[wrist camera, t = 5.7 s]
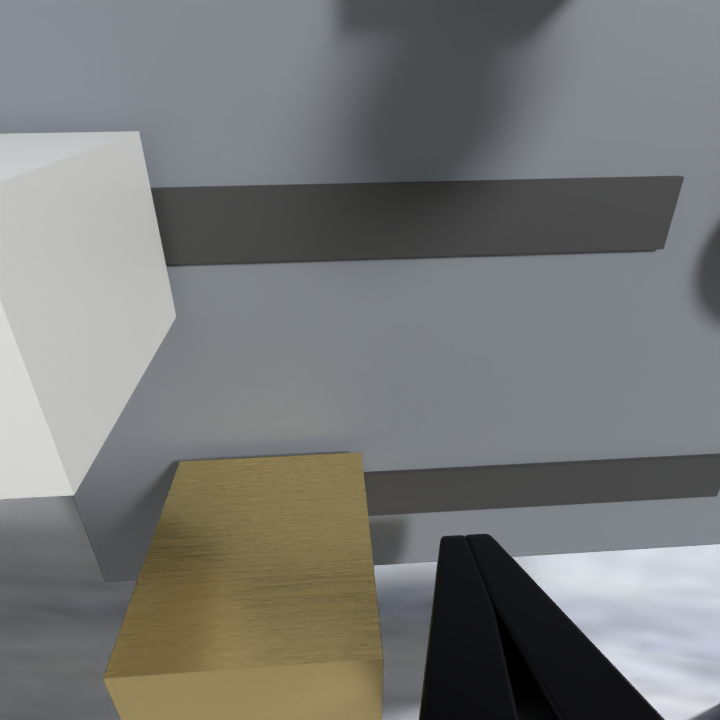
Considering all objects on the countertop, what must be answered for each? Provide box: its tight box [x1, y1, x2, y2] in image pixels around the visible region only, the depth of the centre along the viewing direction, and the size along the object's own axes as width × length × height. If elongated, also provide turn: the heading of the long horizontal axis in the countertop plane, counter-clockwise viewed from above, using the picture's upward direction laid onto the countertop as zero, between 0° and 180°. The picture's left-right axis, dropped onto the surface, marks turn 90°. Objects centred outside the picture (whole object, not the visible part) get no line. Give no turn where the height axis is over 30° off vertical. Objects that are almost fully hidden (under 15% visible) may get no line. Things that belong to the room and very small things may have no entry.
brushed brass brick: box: [103, 452, 383, 720], centre depth 8 cm, size 3×2×4 cm
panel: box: [0, 0, 720, 582], centre depth 7 cm, size 14×14×3 cm
